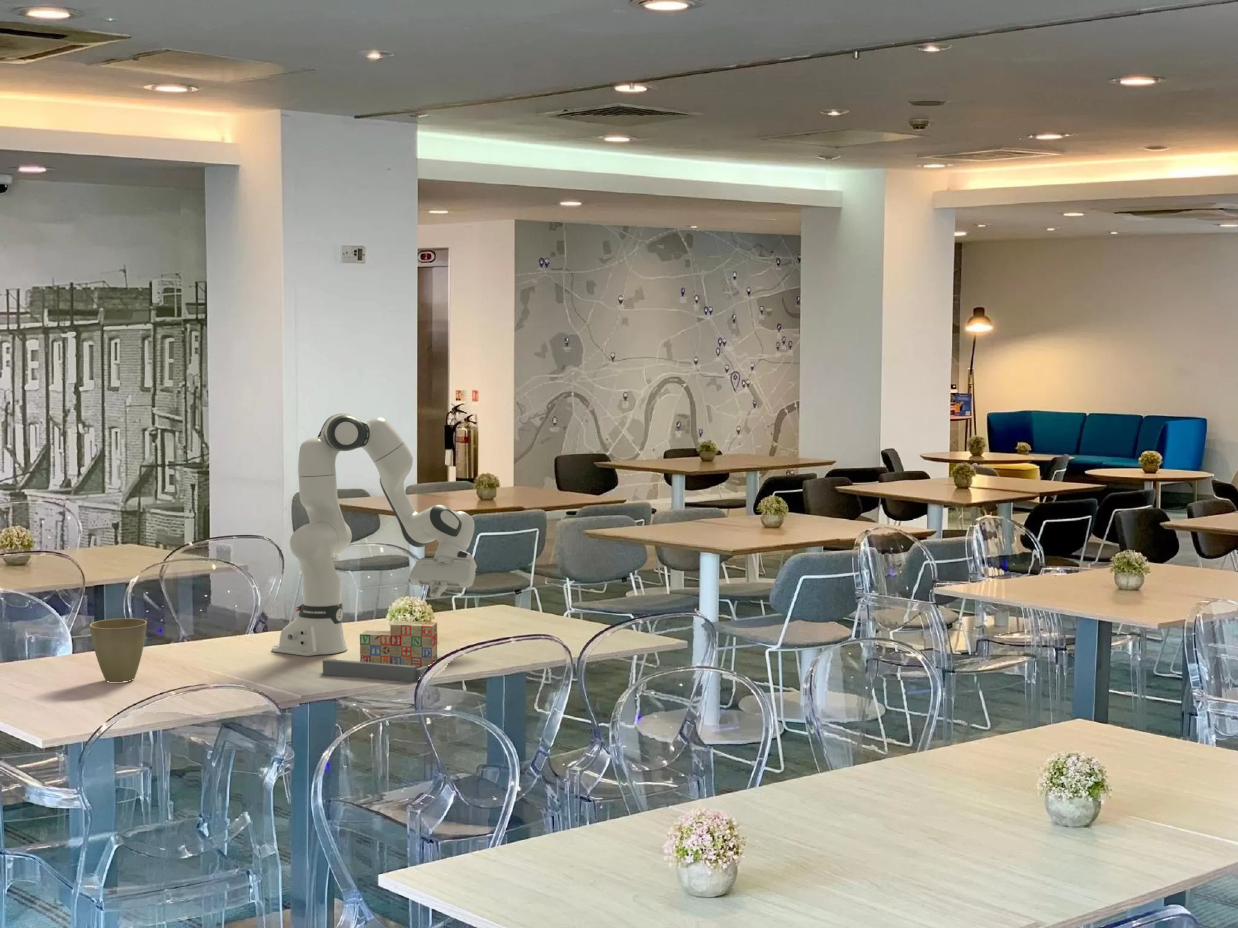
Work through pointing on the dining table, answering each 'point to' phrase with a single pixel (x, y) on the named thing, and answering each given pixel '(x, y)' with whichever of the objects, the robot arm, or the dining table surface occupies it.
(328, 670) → the frame
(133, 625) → the plant pot
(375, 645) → the stack of blocks
